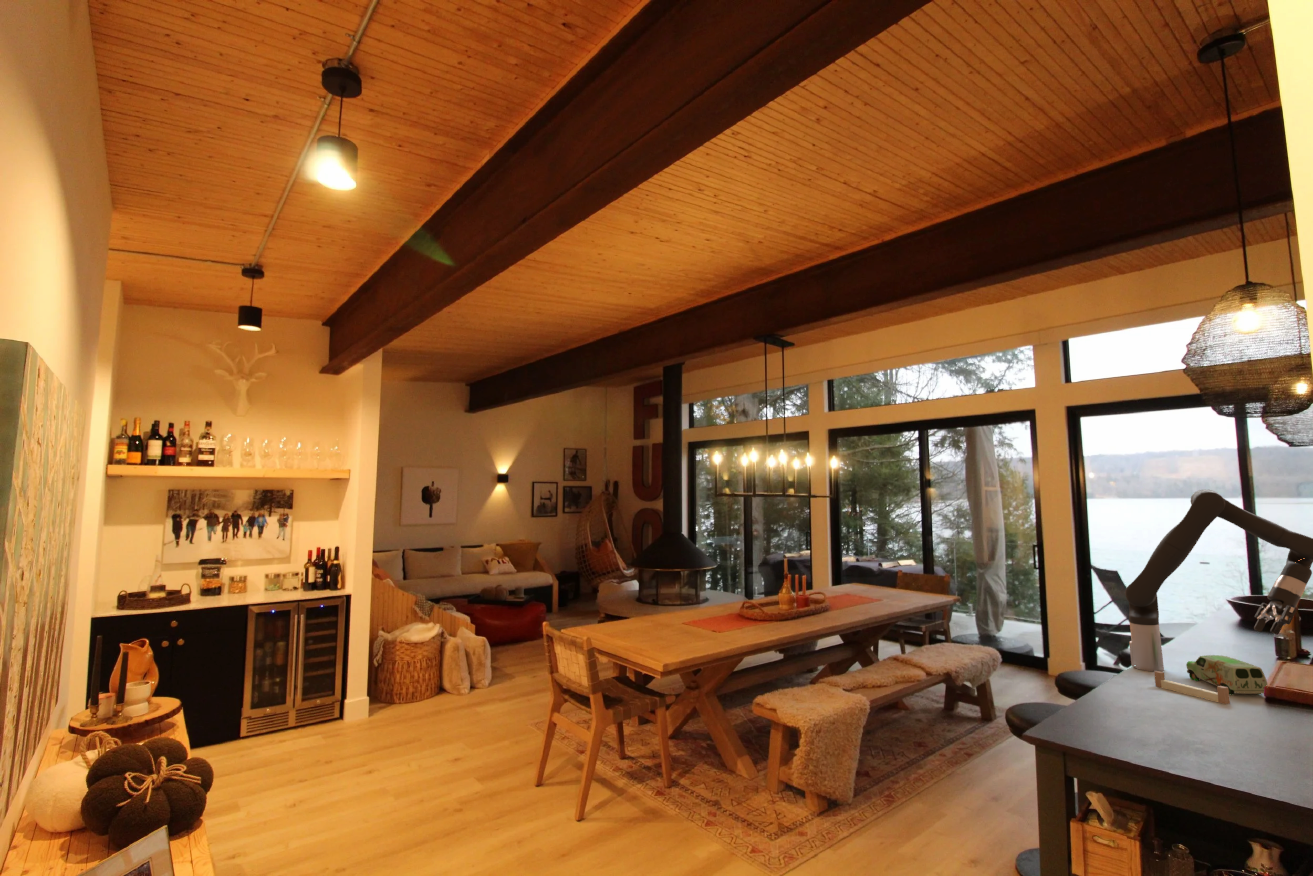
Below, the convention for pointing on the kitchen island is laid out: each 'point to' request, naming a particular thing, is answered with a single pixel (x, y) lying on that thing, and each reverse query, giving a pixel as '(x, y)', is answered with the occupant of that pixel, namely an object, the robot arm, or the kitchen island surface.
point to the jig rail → (1193, 689)
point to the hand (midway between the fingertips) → (1265, 631)
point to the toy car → (1228, 674)
